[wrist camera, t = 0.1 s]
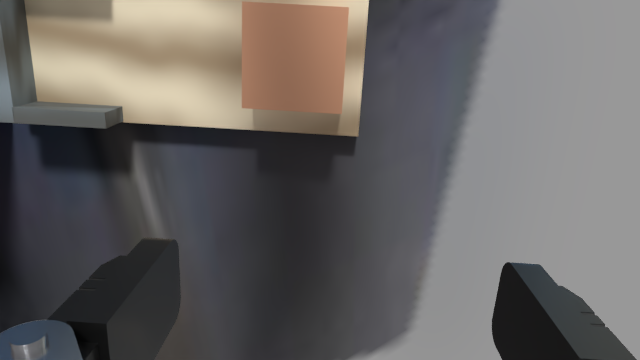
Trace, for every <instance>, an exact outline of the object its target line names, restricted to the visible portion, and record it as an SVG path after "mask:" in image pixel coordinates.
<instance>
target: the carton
mask: <svg viewBox="0 0 640 360" xmlns="http://www.w3.org/2000/svg"><path fill="white" fill-rule="evenodd" d="M348 15H349V7H336V6H318V5H299V4H281V3H263V2H245V1H242V108H246V109H263V110H280V111H297V112H314V113H331V114H342V104H343V89H344V74H345V60H346V45H347V30H348Z"/></svg>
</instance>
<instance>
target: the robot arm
mask: <svg viewBox="0 0 640 360" xmlns="http://www.w3.org/2000/svg"><path fill="white" fill-rule="evenodd" d="M180 298H181V295H180V270H179V249H178V243H177V241H176V240H174V239H159V238H143V239H142V240H141V241H140V242H139V243H138V244H137V245H136V246H135V248H134V249H133V250H132V251H131V252H130V253H129V254H128V255H127V256H118V257H116V258H114V259H112V260H111V261H109V262H107V263H105V264H103V265H101V266H100V267H99V268H98V269H97V270H96V271H95V272H94V273H93V274H92V275H91V276H90V277H89V280H86V281H85V282H84V283H83V284H82V285H81V286H80V287H79V290H76V291H75V292H74V293H73V294H72V295H71V296H70V297H69V298H68V299H67V300H66V301H65V302H64V303H63V304H62V305H61V306H60V307H59V308H58V309H57V310H56V311H55V312H54V313H53V314H52V315H51V316H50V317H49V318H48V319H47V320H38V321H32V322H27V323H24V324H20V325H17V326H15V327H12V328H10V329H8V330H6V331H4V332H2V333H0V360H154V359H155V357H156V356H157V354H158V352H159V350H160V348H161V347H162V345H163V343H164V341H165V339H166V338H167V336H168V334H169V332H170V330H171V329H172V327H173V325H174V323H175V321H176V319H177V316H178V312H179V308H180ZM492 334H493V339H494V343H495V346H496V348H497V350H498V352H499V354H500V356H501V358H502V360H636V359H635V357H634V356H633V355H632V354H631V353H630V352H629V351H628V350H627V349H626V347H625V346H624V345H623V344H622V343H621V342H620V341H619V340H618V338H617V337H616V336H615V335H614V334H613V333H612V332H611V331H610V330H609V328H607V327H605V324H604V323H603V322H602V321H601V319H600V318H599V317H598V316H596V315H594V312H593V310H592V309H591V308H590V307H589V306H588V305H587V304H586V303H585V302H584V300H583V299H582V298H580V297H579V296H577V295H575V294H574V293H572V292H571V291H569V290H568V289H566V288H564V287H563V286H558V285H557V284H556V283H555V282H554V280H553V279H552V278H551V277H550V276H549V275H548V273H547V272H546V271H545V270H544V269H543V267H542V266H541V265H538V264H524V263H509V262H508V263H506V264H505V265H504V266H503V269H502V272H501V277H500V282H499V287H498V292H497V297H496V302H495V307H494V313H493V318H492Z"/></svg>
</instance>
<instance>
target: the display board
mask: <svg viewBox="0 0 640 360" xmlns="http://www.w3.org/2000/svg"><path fill="white" fill-rule="evenodd" d="M242 1H245V2H263V3H281V4H299V5H318V6H336V7H349V15H348V30H347V45H346V60H345V74H344V89H343V104H342V114H331V113H314V112H297V111H280V110H263V109H246V108H242ZM368 6H369V0H0V122H5V123H21V124H38V125H54V126H71V127H87V128H104V129H106V128H109V127H111V126H113V125H116V124H118V123H120V122H126V123H143V124H159V125H176V126H192V127H209V128H226V129H242V130H259V131H275V132H292V133H309V134H325V135H342V136H358V132H359V119H360V106H361V94H362V81H363V69H364V56H365V43H366V31H367V18H368Z"/></svg>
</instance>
